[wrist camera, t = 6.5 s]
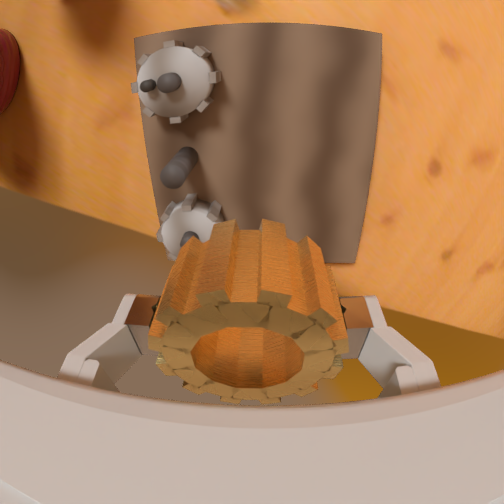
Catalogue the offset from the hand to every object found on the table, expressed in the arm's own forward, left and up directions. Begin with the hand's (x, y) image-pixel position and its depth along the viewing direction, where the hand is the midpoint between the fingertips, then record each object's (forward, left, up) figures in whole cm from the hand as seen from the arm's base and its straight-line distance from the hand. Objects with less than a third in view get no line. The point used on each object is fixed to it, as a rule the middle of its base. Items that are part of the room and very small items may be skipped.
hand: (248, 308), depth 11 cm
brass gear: (0, 0, -1) cm, 1 cm away
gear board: (0, 0, -20) cm, 20 cm away
